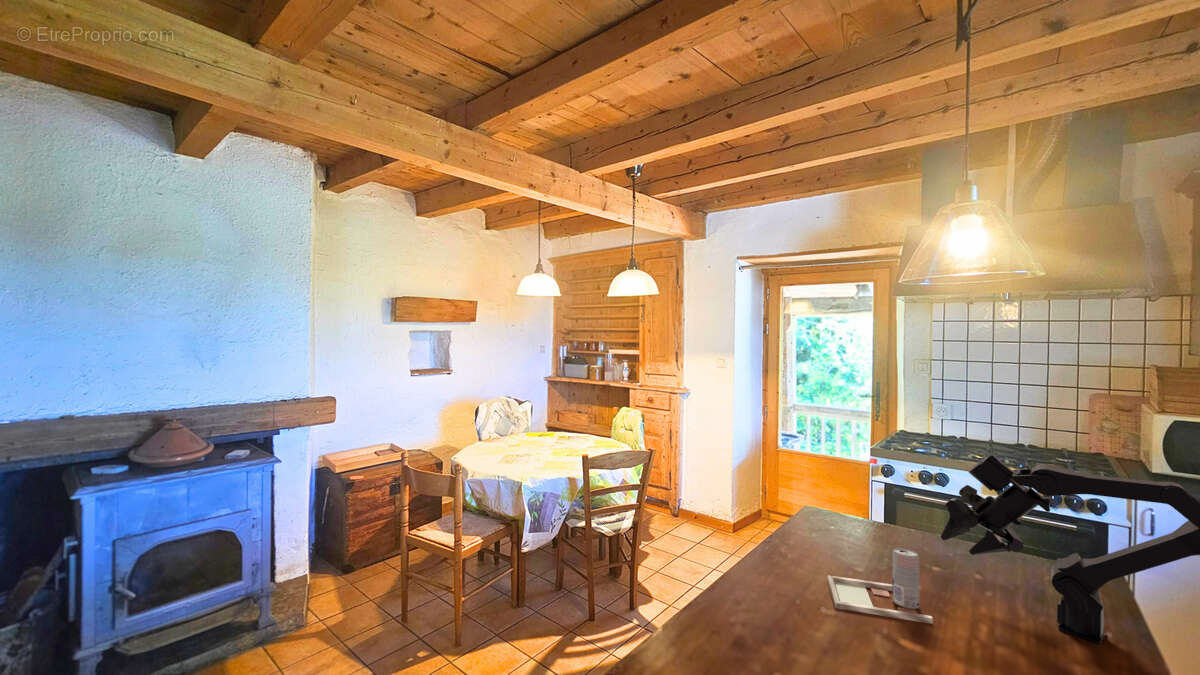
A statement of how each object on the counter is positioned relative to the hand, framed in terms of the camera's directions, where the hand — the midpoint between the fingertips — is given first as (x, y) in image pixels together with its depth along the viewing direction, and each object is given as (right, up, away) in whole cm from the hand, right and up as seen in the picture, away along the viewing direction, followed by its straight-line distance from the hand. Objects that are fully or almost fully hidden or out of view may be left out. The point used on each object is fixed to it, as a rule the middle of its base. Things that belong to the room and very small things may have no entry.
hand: (956, 545), depth 121 cm
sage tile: (-25, -12, -1) cm, 28 cm away
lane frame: (-21, -12, -2) cm, 24 cm away
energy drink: (-15, -12, -4) cm, 20 cm away
